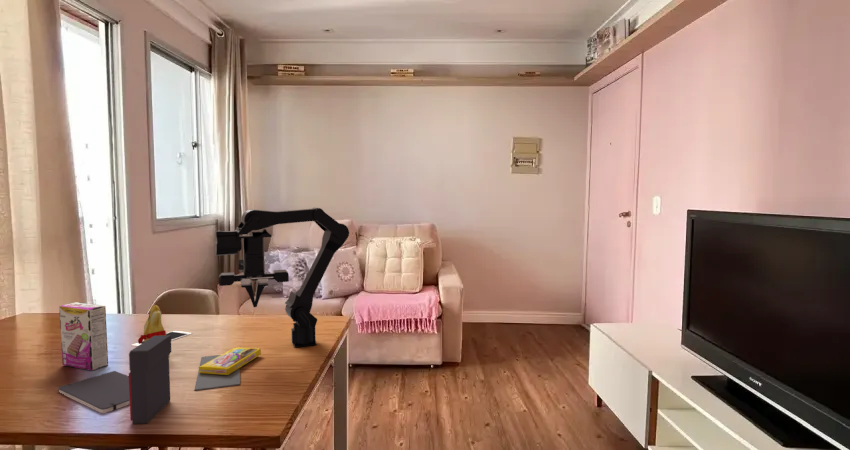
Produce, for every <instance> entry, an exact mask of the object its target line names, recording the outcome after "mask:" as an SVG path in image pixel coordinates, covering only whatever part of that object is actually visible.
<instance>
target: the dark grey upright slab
mask: <svg viewBox="0 0 850 450" xmlns="http://www.w3.org/2000/svg"><path fill="white" fill-rule="evenodd" d="M171 353H172V341H171V336H170V335H167V336H153V337H151V338H150V339H148V340H147V341H145V342H144V343H142V344H141V345H139V346H135V347H134V348H133V349H131V350H130V351H129V353H128V366H129V367H128V368H129V369H128V370H129V372H128V376H129V396H130V404H129V414H130V421H131V422H132V424H134V425H135V424H136V425H138V424H141V425H142V424H149V422H151V421H152V420H153V418H155V417H156V416H157V415H158V414H159V413H160V412H161V411H162V410H163V409H164V408H165V407H166V406H167V405H168V404H169V403H170V402H171V383H170V382H171V381H170V379H171V378H170V357H169V356H170V355H171Z"/></svg>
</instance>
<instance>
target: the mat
mask: <svg viewBox="0 0 850 450" xmlns="http://www.w3.org/2000/svg"><path fill="white" fill-rule="evenodd" d="M220 355H221V354H217V355H216V354H215V355H208V356H207V355H206V356H201V357H200V362H199V366H198V368H199V367H200V366H202V365H204V364H206V363H207V362H209V361H211V360H213V359H215V358H217V357H218V356H220ZM235 386H241V367H240V368H239V369H237V370H235V371H234V372H232V373H231V374H229V375H217V374H203V373H199V370H198V371H197V376H196V381H195V385H194V390H193V391H195V392H197V391H204V390H212V389H218V388H227V387H235Z"/></svg>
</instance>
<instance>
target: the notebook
mask: <svg viewBox="0 0 850 450" xmlns="http://www.w3.org/2000/svg"><path fill="white" fill-rule="evenodd" d="M57 389H58V393H59V392H60V393H59V394H61V393H62V395H63V394H64V395H63V396H65V397H67V398H69V399H71V400H74V401H75V402H77V403H79V404H82V405H83V406H86V407H88V408H89V409H93V410H94V411H97V413H100V414H104V413H105V414H107V413H109V412H111V411H116V410H117V409H121V408H123V407H125V406H128V405H129V406H130V396H129V375H126V374H124V373H121V372H119V371H116V370H113V371H109V372H105V373H102V374H98V375H95V376H93V377H89V378H86V379H82V380H81V379H80V380H78V381H75V382H71V383H68V384H65V385H64V384H63V385H61V386H58V387H57Z"/></svg>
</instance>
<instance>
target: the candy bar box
mask: <svg viewBox="0 0 850 450" xmlns="http://www.w3.org/2000/svg"><path fill="white" fill-rule="evenodd" d="M106 308H107V307H106V305H103V304H93V303H85V302H78V301H75V302H71V303H66V304H61V305H59V306H58V310H59V324H60V341H61V358H62V360H61V362H62V366H63V365H64V367H68V368H76V369H81V370H87V371H92V372H93V371H96V370H98V369H101V368H104V367H107V366H109V352H108V335H107V334H108V333H107V313H106V312H107V309H106Z"/></svg>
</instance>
